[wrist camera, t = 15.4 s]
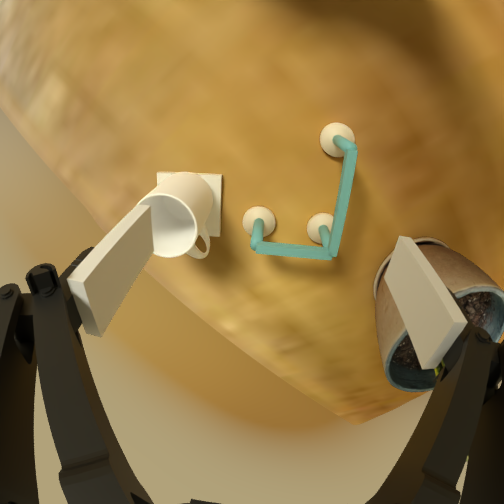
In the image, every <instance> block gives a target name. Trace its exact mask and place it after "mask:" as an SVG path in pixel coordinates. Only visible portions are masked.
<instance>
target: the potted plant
mask: <svg viewBox="0 0 504 504" xmlns="http://www.w3.org/2000/svg"><path fill="white" fill-rule="evenodd" d="M412 240H413V241H414V242H415V244H416V245H417V246H418V248H419V249H420V251H421V252H422V253H423V255H424V256H425V257H426V259H427V260H428V262H429V263H430V264H431V266H432V267H433V269H434V270H435V272H436V273H437V274H438V276H439V277H440V279H441V280H442V282H443V283H444V285H445V286H446V287H447V288H449V289H450V290H451V291H452V292H453V293H454V294H455V296H456V297H457V299H458V301H459V302H460V304H461V305H462V308H463V309H464V310H465V312H466V314H467V315H468V317H469V318H470V320H471V322H472V324H473V325H474V327H475V326H476V327H481V328H483V329H484V330H486V331H487V332H488V333H489V334H490V336H491V338H492V340H493V342H496V343H498V341H499V340H500V338H501V336H502V334H503V332H504V291H503V290H502V289H501V288H500V287H499V286H498V285H497V284H496V283H495V282H494V281H493V280H492V279H491V278H490V277H489V276H488V275H487V274H486V273H485V272H484V271H482V270H481V269H480V268H479V267H478V266H476V265H475V264H474V263H472V262H471V261H470V260H468V259H467V258H465V257H464V256H462V255H461V254H459V253H457V252H455V251H453V250H451V249H450V248H449V247H448V246H447V245H446V244H445V243H444V242H442V241H440V240H438V239H435V238H432V237H421V238H415V239H412ZM393 252H394V250H393V251H392V252H391V253H390V254H389V255H388V256H387V257H386V258H385V260H384V261H383V263H382V264H381V266H380V268H379V270H378V272H377V274H376V277H375V281H374V297H375V301H376V303H375V319H376V328H377V337H378V343H379V349H380V354H381V359H382V363H383V367H384V371H385V375H386V377H387V380H388V381H389V382H390V384H391V385H392V386H394V387H395V388H398V389H400V390H403V391H407V392H424V391H430V390H434V387H435V385H436V382H437V380H436V381H435V382H432V381H433V380H434V379H435V377H436V376H437V375H438V374H439V372H440V371H441V370H442V369H443V367H444V366H445V364H444V361H443V359H442V360H441V362H440V363H439V364H438V366H437V367H436V368H434V369H422V368H421V365H420V362H419V360H418V357H417V354H416V352H415V349H414V346H413V344H412V341H411V339H410V336H409V334H408V331H407V329H406V326H405V324H404V322H403V319H402V317H401V315H400V312H399V310H398V308H397V305H396V303H395V301H394V299H393V296H392V294H391V292H390V290H389V288H388V285H387V283H386V281H385V279H384V276H385V273H386V271H387V268H388V266H389V263H390V260H391V257H392V255H393ZM468 457H469V453H468V456H467V459H466V461H468Z"/></svg>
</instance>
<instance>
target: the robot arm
mask: <svg viewBox="0 0 504 504" xmlns="http://www.w3.org/2000/svg"><path fill="white" fill-rule="evenodd" d="M153 252H154V245H153V233H152V220H151V205H138V204H137V205H136V206H135V207H134V208H133V209H132V210H131V211H130V212H129V213H128V214H127V215H126V216H125V217H124V218H123V219H122V220H121V221H120V222H119V223H118V224H117V225H116V226H115V227H114V228H113V229H112V230H111V231H110V232H109V233H108V234H107V235H106V236H105V238H103V239H102V240H101V242H100V243H99V244H98V245H97V246H96V247H90V248H88V249H87V250H85V251H83V252H82V253H81V254H80V255H79V256H78V257H77V258H76V260H74V261H73V262H72V263H71V265H70V266H69V267H68V268H67V269H66V270H65V271H64V272H63V273H62V275H61V276H60V277H59V278H58V275H57V271H56V268H55V266H54V265H52V264H47V263H45V264H40V265H37V266H35V267H34V268H32V269H31V270H30V271H29V272H28V273H27V275H26V281H27V284H28V286H29V289H30V291H31V293H24V294H22V293H21V291H20V289H19V287H18V285H16V284H6V285H4V286H2V287H1V288H0V504H39V499H38V488H37V480H36V470H35V458H34V430H33V429H34V395H35V381H36V371H37V365H38V371H39V377H40V384H41V389H42V395H43V400H44V404H45V409H46V413H47V417H48V422H49V425H50V429H51V432H52V436H53V439H54V443H55V447H56V450H57V453H58V456H59V459H60V462H61V466H62V470H61V471H60V472H59V481H60V484H61V487H62V490H63V492H64V495H65V497H66V500H67V502H68V504H154V503H153V502H152V500H151V498H150V497H149V496H148V494H147V492H146V491H145V489H144V488H143V487H142V485H141V484H140V483H139V481H138V480H137V478H136V476H135V475H134V473H133V471H132V469H131V467H130V466H129V463H128V462H127V459H126V457H125V455H124V453H123V451H122V449H121V447H120V445H119V443H118V441H117V438H116V436H115V434H114V432H113V430H112V427H111V425H110V423H109V420H108V418H107V415H106V413H105V411H104V408H103V405H102V403H101V400H100V397H99V394H98V392H97V389H96V386H95V383H94V380H93V377H92V374H91V372H90V368H89V365H88V362H87V358H86V355H85V351H84V348H83V344H82V340H81V337H80V334H79V331H78V329H79V327H80V326H81V324H83V327H84V329H85V331H86V333H87V334H91V335H94V336H98V337H102V335H103V333H104V332H105V330H106V328H107V326H108V325H109V323H110V321H111V320H112V317H113V316H114V314H115V313H116V311H117V309H118V308H119V306H120V304H121V303H122V301H123V299H124V298H125V296H126V294H127V293H128V291H129V289H130V288H131V286H132V285H133V283H134V281H135V280H136V278H137V276H138V275H139V273H140V272H141V270H142V269H143V267H144V266H145V264H146V263H147V261H148V260H149V258H150V257H151V255H152V254H153ZM384 279H385V281H386V283H387V285H388V288H389V290H390V292H391V294H392V296H393V299H394V301H395V303H396V305H397V308H398V310H399V312H400V315H401V317H402V319H403V322H404V324H405V326H406V329H407V331H408V334H409V336H410V339H411V341H412V344H413V346H414V349H415V352H416V354H417V357H418V360H419V362H420V365H421V368H422V369H434V368H436V367H437V366H438V364H439V363H440V362H441V360H442V359H443V361H444V364H445V366H444V367H443V369H442V370H441V371H440V372H439V374H438V375H437V376H436V377H435V379H434V380H433V381H432V382H435V381H436V380H437V382H436V385H435V387H434V390H433V392H432V394H431V397H430V399H429V401H428V404H427V406H426V408H425V410H424V412H423V414H422V416H421V418H420V421H419V423H418V425H417V427H416V429H415V430H414V433H413V435H412V436H411V438H410V440H409V442H408V444H407V445H406V447H405V449H404V451H403V453H402V454H401V456H400V458H399V459H398V461H397V463H396V464H395V466H394V468H393V469H392V471H391V472H390V474H389V475H388V477H387V479H386V480H385V482H384V483H383V484H382V486H381V487H380V489H379V490H378V492H377V493H376V494H375V495H374V496H373V497H372V498H371V499H370V500H369V501H367V502H366V503H365V504H458V503H459V500H460V504H504V340H503V341H502V343H501V344H500V343H496V342H493V340H492V338H491V336H490V334H489V333H488V332H487V331H486V330H484V329H483V328H481V327H476V326H475V327H474V325H473V324H472V322H471V320H470V318H469V317H468V315H467V314H466V312H465V310H464V309H463V308H462V305H461V304H460V302H459V301H458V299H457V297H456V296H455V294H454V293H453V292H452V291H451V290H450V289H449V288H447V287H446V286H445V285H444V283H443V282H442V280H441V279H440V277H439V276H438V274H437V273H436V272H435V270H434V269H433V267H432V266H431V264H430V263H429V262H428V260H427V259H426V257H425V256H424V255H423V253H422V252H421V251H420V249H419V248H418V246H417V245H416V244H415V242H414V241H413V240H412V239H411V238H410V237H404V236H399V238H398V241H397V244H396V246H395V249H394V252H393V255H392V257H391V260H390V263H389V266H388V268H387V271H386V273H385V276H384ZM501 380H502V383H501V386H500V388H499V389H498V383H499V382H500V381H501ZM468 453H469V457H468V465H467V471H466V476H465V481H464V486H463V491H462V495H460V492H459V491H458V490H456V484H457V482H458V479H459V477H460V474H461V472H462V469H463V467H464V464H465V462H466V459H467V456H468ZM460 497H461V499H460ZM183 504H219V503H212V502H206V501H199V500H193V499H191V501H190V503H183Z"/></svg>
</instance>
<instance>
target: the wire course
mask: <svg viewBox="0 0 504 504" xmlns="http://www.w3.org/2000/svg"><path fill="white" fill-rule="evenodd" d="M320 144H321V147H322V148H323V150H324V151H325V152H326V153H327V154H329V155H331V156H333V157H343V156H344V161H343V167H342V173H341V179H340V185H339V191H338V196H337V202H336V207H335V212H334V216H333V215H331V214H329V213H324V212H323V213H318V214H315V215H314V216H312V217H311V218H310V220H309V221H308V224H307V232H308V235H309V237H310V238H311V240H313V241H314V242H316V243H320V244H322V245H323V247H316V246H306V245H296V244H285V243H275V242H264V241H263V237H265V236H268V235H269V234H270V233H271V232H272V231H273V230H274V228H275V216H274V214H273V212H272V211H271V210H270V209H268V208H266V207H264V206H254V207H251V208H250V209H248V210H247V211H246V213H245V214H244V217H243V227H244V229H245V231H246V232H247V233H248V234H249V235H251V236H252V237H251V244H250V247H251V249H252V250H254V251H256V253H257V254H267V255H278V256H289V257H300V258H311V259H321V260H332V257H337V253H338V249H339V245H340V240H341V236H342V231H343V227H344V222H345V218H346V213H347V208H348V203H349V198H350V193H351V188H352V182H353V177H354V171H355V165H356V159H357V153H358V151H357V146H356V145H355V138H354V134H353V132H352V130H351V129H350V128H349V127H348V126H346V125H344V124H342V123H330V124H328V125H327V126H325V127H324V128H323V130H322V131H321V134H320Z"/></svg>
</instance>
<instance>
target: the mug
mask: <svg viewBox="0 0 504 504" xmlns="http://www.w3.org/2000/svg"><path fill="white" fill-rule="evenodd" d="M138 205H151V220H152V233H153V245H154V252H153V254H155V255H157V256H161V257H166V258H173V257H178V256H181V255H183V254H185V253H186V254H188V255H190V256H191V257H194V258H197V259H202V258H205V257H206V256H207V255H208V253H209V249H210V238H209V233H208V230H207V228H206V225H205V222H206V220H207V218H208V216H209V214H210V212H211V209H212V205H213V195H212V191H211V189H210V187H209V185H208V184H207V182H206V181H205V180H204V179H203V178H201V177H200V176H198V175H196V174H194V173H191V172H178V173H175V174H172V175H171V176H169V177H167V178H166V179H165V180H164V181H163V182H161V183H160V184H159V185H158V186H157V187H155V188H154V189H153V190H152V191H151V192H150V193H149V194H147V195H146V196H145V197H144V198H143V199H142V200H141V201H140V202H139V203H138ZM199 235H200V236H201V237H202V238H203V240H204V241H205V243H206V247H207V250H206V252H205V253H203V252H201V251H200V250H199V249H198V248H197V246H196V245H195V242H196V240H197V238H198V236H199Z"/></svg>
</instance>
